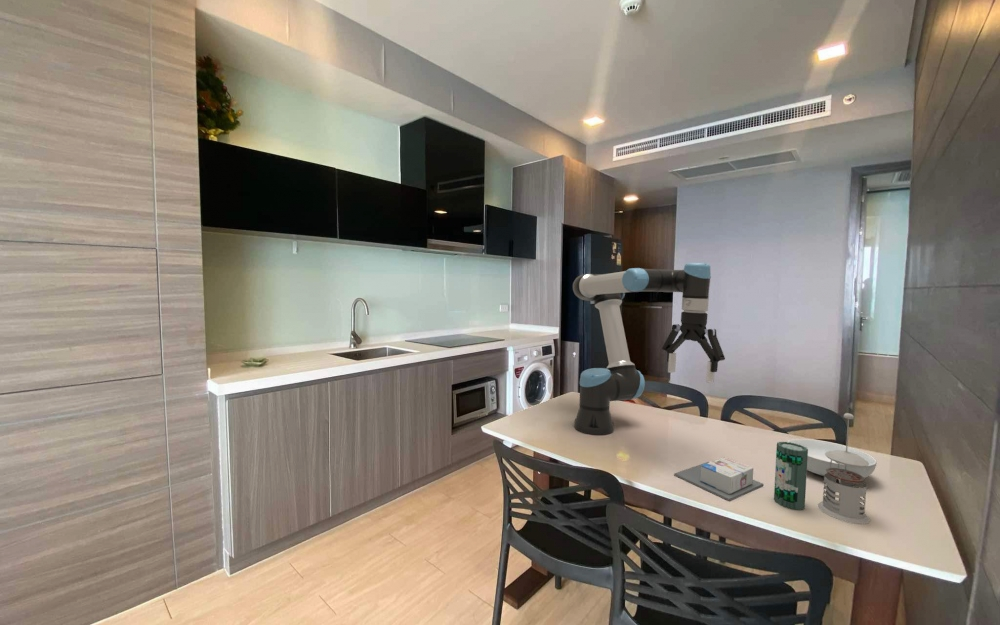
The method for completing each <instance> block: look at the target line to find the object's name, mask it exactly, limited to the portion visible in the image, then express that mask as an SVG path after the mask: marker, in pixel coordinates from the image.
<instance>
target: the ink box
mask: <svg viewBox="0 0 1000 625" xmlns="http://www.w3.org/2000/svg"><path fill="white" fill-rule="evenodd" d="M709 462H710V463H707V464H704V465H701V474H700V481H701V482H703V483H705V484H708V485H710V486H712V487H714V488H717V489H719V490H721V491H723V492H726V493H728V494H731V493H733V492H735V491H738V490H740V489H742V488H744V487H746V486H749V485H751V484H752V483H753V480H754V467H752V466H750V465H747V464H744V463H741V462H738V461H735V460H732V459H729V458H727V457H721V458H718V459H715V460H712V461H709Z"/></svg>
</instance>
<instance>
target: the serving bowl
mask: <svg viewBox="0 0 1000 625" xmlns="http://www.w3.org/2000/svg"><path fill="white" fill-rule="evenodd" d="M786 442H791V443H796V444H798V445H802V446H804V447H806V448H807V449H808V458H807V472H808V471H809V472H811V473H812V474H813V473H814V474H816V475H818V476H822V477H824V475H825V474H826V473H827V471H826V469H828V468H830V461H831V459H829V458H828V457H826V455H825V453H826V452H828V451H834V450H841V451H846V445H844V444H841V443H836V442H831V441H825V440H819V439H812V438H809V439H808V438H792V439H788V440H786ZM847 451H848V452H851V453H854V454H857V455H859V456H860V457H862V458H863V459H865V460H866V461H868V463H869V465H868V466H866V467H853V466H848V465H846V470H848V471H852V472H855V473H857V474H859V475H861V476H863V477H864V478H865V479H866V478H867V477H869V476H871V475H872V474H873V473H874V472H875V470H876V467H877V464H878V463H877V462H878V461H877V460H876V457H874V456H872V455H870V454H869V453H866V452H865V451H862V450H861V449H858V448H853V447H850V446H848V447H847ZM831 468H838V463H836V462H835V461H833V460H832V463H831ZM839 468H840V469H845V465H844V464H839ZM836 480H839V479H838V478H836Z"/></svg>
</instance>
